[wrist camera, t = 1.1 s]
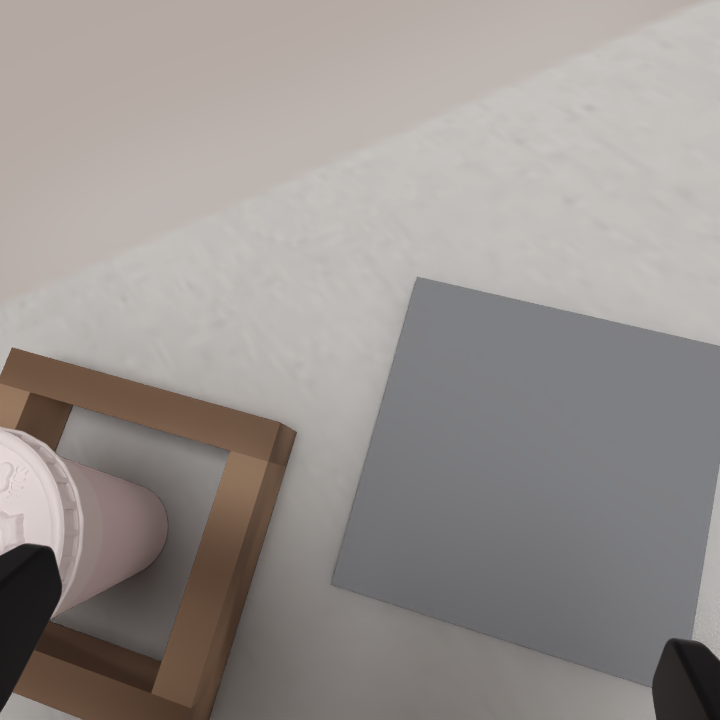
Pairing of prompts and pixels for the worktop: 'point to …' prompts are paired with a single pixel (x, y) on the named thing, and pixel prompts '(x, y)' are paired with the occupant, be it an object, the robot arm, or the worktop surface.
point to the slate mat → (540, 479)
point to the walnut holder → (212, 563)
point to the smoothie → (76, 517)
